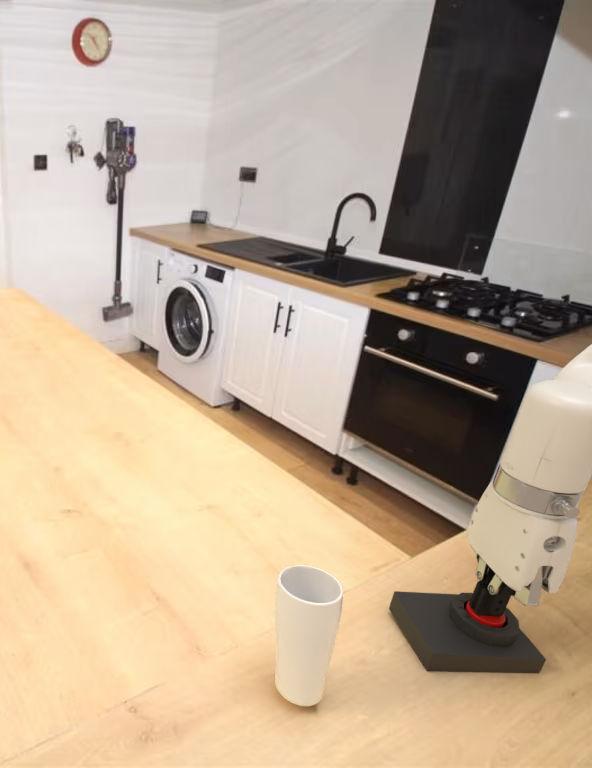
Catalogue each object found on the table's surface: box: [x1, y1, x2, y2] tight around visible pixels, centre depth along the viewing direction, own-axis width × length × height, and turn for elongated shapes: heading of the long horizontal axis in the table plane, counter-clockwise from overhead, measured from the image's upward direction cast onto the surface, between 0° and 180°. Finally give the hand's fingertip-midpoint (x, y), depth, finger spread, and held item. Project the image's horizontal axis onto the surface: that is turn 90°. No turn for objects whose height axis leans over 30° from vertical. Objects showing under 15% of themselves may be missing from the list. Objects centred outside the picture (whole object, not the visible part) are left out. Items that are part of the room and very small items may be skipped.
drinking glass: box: [274, 564, 344, 707], centre depth 61 cm, size 7×7×15 cm
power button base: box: [388, 590, 547, 674], centre depth 69 cm, size 13×10×5 cm
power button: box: [465, 601, 506, 628], centre depth 68 cm, size 4×4×2 cm
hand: (485, 610), depth 68 cm, fingers closed
